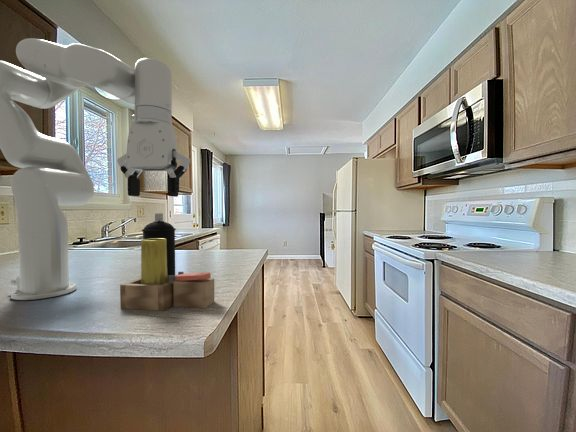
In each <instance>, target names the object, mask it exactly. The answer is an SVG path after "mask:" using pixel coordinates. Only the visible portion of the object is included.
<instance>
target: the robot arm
mask: <svg viewBox="0 0 576 432" xmlns="http://www.w3.org/2000/svg"><path fill="white" fill-rule="evenodd" d="M15 54H16V55H15V56H16V57H17V60H18V62H20V65H22V66H23V67H24V68H25V69H23V68H22V67H19V66H17V65H14V64H12V63H9V62H7V61H4V60H2V59H1V60H0V150H1V152H2V154H3V155H2V156H4V158H5V160H6V161H7V163H8V164H10V165H11V166H13V167H16V168H19V169H18V170H16V171H15V172H14V173H13V175H12V177H11V181H10V186H11V187H10V188H11V192H12V197H13V200H14V204H15V210H16V215H17V237H18V239H17V240H18V241H17V242H18V271H19V272H18V275H19V276H16V278H13V279H11V280H10V281H9V282H10V284H11V285H16V289H15V290H14V291H12V292H11V293H10V299H12V300H15V301H31V300H33V301H34V300H41V299H48V298H53V297H59V296H63V295H66V294H69V293H72V292H74V291H75V290H77V283H74V282H70V280H69V279H70V277H69V275H70V274H69V273H70V272H69V271H70V270H69V267H70V266H69V264H70V263H69V225H68V220H67V217H66V215H65V213H64V212H63V210H62V208H61V207H60V206H66V207H67V206H69V207H70V206H73V207H74V206H83V205H84V206H85V205H86V204H88V203H90V201H92V199H93V197H94V194H95V193H94V192H95V187H94V182H93V181H92V178H91V175H90V174H89V172H88V170H87V168H86V166H85V164H84V162H83V160H82V158H81V156H80V154H79V153H78V151H77V150H76V149H75V147H74V146H73V145H71V144H70V143H69V142H67V141H65V140H64V139H61V138H56V137H52V136H48V135H46V134H43V133H41V132H39V130H38V129H37V128H36V126H35V124H34V122H33V120H32V118H31V117H30V116H29V114H28V113H27V112H26V111H25V110H24V109H23V108H22V107H21V106H20V105H18V104H17V103H16V102H18V103H22V104H24V105H28V106H31V107H34V108H38V109H41V110H42V109H45V110H46V109H51V108H54V107H55V106H57V105H58V104H60V103H62V102H63V101H64V100H66V99H67V98H69V97H70V96H72V95H73V94H75V93H77V92H78V91H79V90H80V89H81V88H83V87H86V86H88V85H89V86H92V87H94V88H97V89H98V90H100V91H103V92H106V93H107V94H110V95H112V96H114V97H116V98H118V99H120V100H122V101H124V102H126V103H129V104H131V105H134V114H132V115H130V119H131V121H132V123H131V124H130V127H129V132H128V134H127V135H128V136H127V142H126V143H127V144H126V153H124V154H123V155H122V156H120V157H117V160H116V162H117V164H118V166H119V168H120V171H121V172H122V173H123V175H124V177H125V178H126V179H127V196H129V197H139V196H140V194H141V180H140V178H139V176H140V175H141V173H142V172H143V171H144V172H162V171H163V172H167V174H168V176H169V177H168V178H167V196H168V197H176V198H177V197H179V193H180V180H181V179H182V177H183V175H184V174H185V173H186V172H187V170H188V168H189V165H190V162H191V158H190V157H188V156H186V155H185V154H182V153H181V152H178V143H177V142H178V141H177V136H176V132H175V131H176V130H175V127H174V125H172V124H173V123H172V117H173V116H172V113H173V112H172V110H173V108H172V103H173V88H172V87H173V76H172V74H173V73H172V69H171V68H170V67H169V66H168V64H166V63H165V62H164V61H161V60H158V59H155V58H148V57H143V58H140V59H138V60H137V61H136V62H135V65H134V67H133V66H130V65H129V64H127V63H126V62H124V61H122V60H121V59H119V58H117V57H116V56H114V55H113V54H111V53H109V52H107V51H105V50H103V49H101V48H96V47H93V46H89V45H85V44H83V43H77V42H76V43H75V42H74V43H70V44H69V45H63V44H60V43H56V42H52V41H48V40H45V39H40V38H34V37H33V38H32V37H31V38H24V39H22V40H20V41H19V42H18V43H17V44H16V47H15ZM133 122H134V123H133ZM179 161H180V164H179V166H178V162H179Z"/></svg>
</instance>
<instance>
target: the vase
mask: <svg viewBox="0 0 576 432" xmlns="http://www.w3.org/2000/svg"><path fill="white" fill-rule="evenodd" d="M140 241H141V244H140V245H141V248H140V249H141V251H140V255H141V256H140V261H141V262H140V266H141V267H140V278H141V284H149V285H163V284H165V283H167V282H168V276H167V239H165V238H151V239H143V238H141V240H140Z"/></svg>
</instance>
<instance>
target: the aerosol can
mask: <svg viewBox="0 0 576 432" xmlns="http://www.w3.org/2000/svg"><path fill="white" fill-rule="evenodd" d="M141 232H142V239H151V238H165V239H167V275H176V237H175V236H176V235H175V234H176V228H175V227H174V226H173V225H172V224H171V223H168V222H167V221H164V214H163V213H161V212H160V213H157V212H156V213H154V220H153V222H150V223H148V224H146V225H145V226H144V228H142V229H141Z"/></svg>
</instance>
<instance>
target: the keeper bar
mask: <svg viewBox="0 0 576 432" xmlns="http://www.w3.org/2000/svg"><path fill="white" fill-rule="evenodd" d="M175 275H176V276H174V280H175V281H185V280H205V279H209V278H211V277H212V276H211V272H210V271H209V272H206V271H205V272H194V273H193V272H190V273H189V272H188V273H184V274H178V273H177V274H175Z"/></svg>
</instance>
